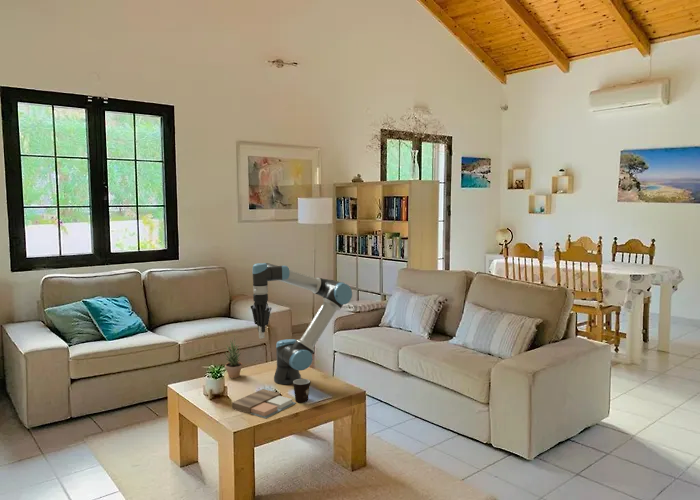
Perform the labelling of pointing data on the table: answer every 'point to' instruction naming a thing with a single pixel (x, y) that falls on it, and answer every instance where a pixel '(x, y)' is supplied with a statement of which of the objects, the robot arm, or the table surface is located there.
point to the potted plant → (233, 361)
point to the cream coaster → (280, 401)
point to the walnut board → (253, 400)
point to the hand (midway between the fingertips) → (261, 338)
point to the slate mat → (275, 411)
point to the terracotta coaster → (264, 409)
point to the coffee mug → (301, 390)
